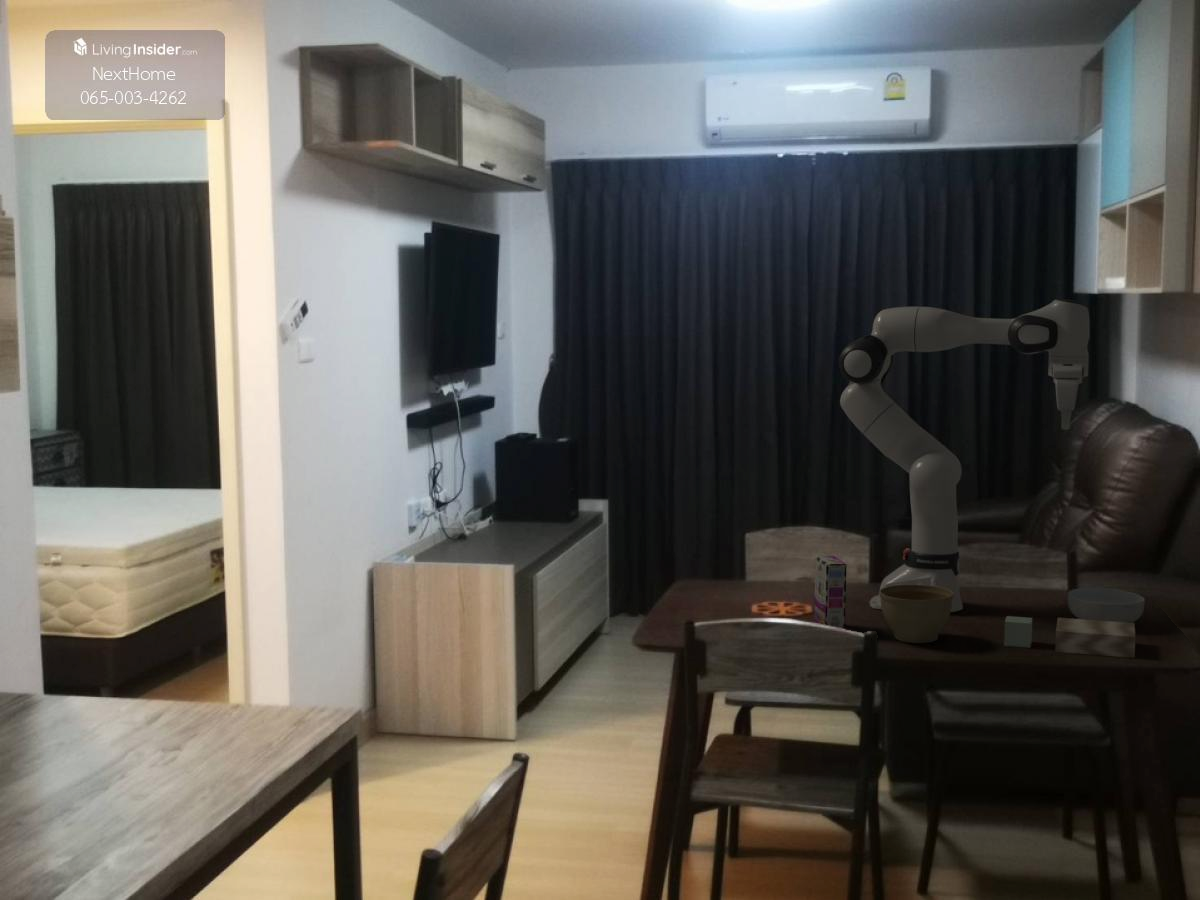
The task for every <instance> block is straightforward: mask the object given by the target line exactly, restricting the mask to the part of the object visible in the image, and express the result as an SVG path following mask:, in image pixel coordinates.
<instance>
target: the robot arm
mask: <svg viewBox="0 0 1200 900" xmlns="http://www.w3.org/2000/svg"><path fill="white" fill-rule="evenodd" d="M1090 326H1091V325H1090V313H1089V309H1088V306H1086V305H1085V304H1084V303H1082V302H1081V301H1077V300H1072V299H1064V298H1056V299H1054V300H1052V302H1051V303H1049V304H1047V305H1045V306H1043V307H1041V308H1039V309H1036V310H1033V311H1031V312H1027V313H1024V314H1020V315H1019V316H1017V317H1014V318H1013V317H1011V318H991V317H990V318H989V317H986V318H985V317H975V316H968V315H964V314H961V313H957V312H954V311H951V310H946V309H944V308H938V307H932V306H916V305H915V306H898V307H897V306H896V307H891V308H890V307H889V308H885V309H882V310H881V311H879V312H878V313H877V314H876V316H875V317H874V320H873V324H872V330H871V334H865V335H863V336H862V337H860V338H857V339H856V340H853V341H852V342H850V343H849V344H848V345H846V346H845V347H844V348H843V350H842V351H841V353H840V355H839V359H838V366H839V370H840V373H841V375H842V376H843V377H844V378H845V379H846V380H848V381H849V383H848V385H847V386H846V387H845V388H844V390H843V391H842V393H841V395H840V400H839V405H840V407H841V409H842V411H843V412H844V414H845V415H846V416H847V417H848V419H849V420H850V421H851V422H852V423H853V425H854V426H855V428H857V429H858V431H860V433H861V434H862V435H864V437H865V438H866V439H868V440H869V442H870V443H872V445H874V446H875V447H876V448H877V450H879V451H880V452H881V453H882V454H883V455H884V456H885V457H886V458H887V459H889V460H891V461H892V462H894V463H895V464H897V465H898V466H900V468H902V470H904V471H905V472H906V473H908V474H909V479H908V480H909V496H910V497H909V498H910V499H909V500H910V510H911V548H909V547H908V548H907V547H906V548H905V549H904V550H903V552H902V553H903V554H902V563H903V564H902V565H900V566H899V567H897V568H896V569H895V570H894V571H892V572H891V573H889V574H888V575H886V576H885V577H884V578H883V579H882V581H881V584H880V588H879V593H878V594H877V595H874V596H873V597H871V599H870V600H869V601H870V602H869V606H870V607H871V608H872V609H877V610H882V607H881V597H880V590H881V589H882V588H884V587H888V586H894V585H930V586H937V587H942V588H946V589H948V590H951V591H952V592H953V599H952V607H951V612H950V613H954V612H959V611H962V610H963V608H964V605H963V602H962V598H961V593H960V586H959V572H960V561H961V560H960V559H961V558H960V552H959V550H958V540H959V539H958V538H959V537H958V535H959V534H958V533H959V532H958V531H959V530H958V529H959V528H958V527H959V517H958V508H957V507H958V506H957V485H958V483H959V482H960V480H961V477H962V471H963V470H962V464H961V462H960V460H959V459H958V457H957V456H956V455H955V454H954V453H953V452H952V451H950V449H948V448H947V447H946V446H945V445H944V444H942V442H940V441H939V440H938V439H937V438H935V437H934V436H933V435H932V434H930V433H929V432H928V431H926V430H925V429H924V428H922V427H921V426H920V425H919V424H918V423H917V422H916V421H914V420H913V418H912V417H910V415H909V414H908V413H906V412H905V410H903V409H902V408H901V407H900V406H899V405H898V404H897V403H896V402H895V401H894V400H893V399H892V398H891V396H889V395H888V394H887V393H886V392H885V391H884V389H883V387H882V384H883V383H884V381H885V380H886V377H887V375H888V373H889V371H890V370H891V367H892V364H893V362H894V361H893V358H894V356H893V355H894V354H895V353H899V352H913V353H931V352H932V353H934V352H941V351H947V350H951V349H955V348H958V347H961V346H966V345H972V344H973V345H974V344H975V345H976V344H980V345H981V344H983V345H985V344H987V345H989V344H990V345H1007V346H1008V345H1009V346H1011V347H1012V348H1013V349H1014V350H1016V352H1019V353H1021V354H1024V355H1033V354H1042V353H1044V352H1048V369H1047V370H1048V371H1047V375H1048V376H1049V377H1052V379H1053V383H1054V385H1055V396H1056V399H1055V400H1056V406H1057V410H1058V411H1059V412H1060V413H1061V415H1060V418H1061V426H1060V427H1061V429H1062V430H1063V431H1064V430H1067V431H1068V430H1070V428H1071V424H1072V423H1071V421H1072V414H1073V413H1072V412H1073V411H1074V410H1075V409H1076V403H1077V396H1078V390H1079V385H1080V384H1082V383H1083V378H1085V377H1088V376H1089V360H1090V359H1089V357H1090V355H1089V351H1088V345H1089V343H1088V342H1089V340H1090V335H1091V333H1090V332H1091V331H1090V329H1091V327H1090Z"/></svg>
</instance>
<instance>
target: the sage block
mask: <svg viewBox="0 0 1200 900" xmlns="http://www.w3.org/2000/svg"><path fill="white" fill-rule="evenodd" d="M1003 634H1004V638H1003V639H1004V642H1003V644H1004V645H1003V646H1005V647H1018V648H1026V649H1027V648H1028V649H1030V648H1031V647H1032V643H1033V642H1032V641H1033V640H1032V639H1033V617H1023V616H1013V615H1012V616H1011V615H1007V616H1006V617H1005V620H1004V633H1003Z"/></svg>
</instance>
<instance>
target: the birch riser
mask: <svg viewBox="0 0 1200 900" xmlns="http://www.w3.org/2000/svg"><path fill="white" fill-rule="evenodd" d="M1135 627H1136V626H1135V622H1132V623H1128V622H1113V621H1099V620H1085V619H1079V618H1069V617H1068V618H1067V617H1057V622H1056V629H1055V642H1054V643H1055V644H1054V645H1055V648H1054V650H1055V651H1054V652H1055V653H1066V654H1067V653H1068V654H1077V653H1079V655H1080V654H1081V655H1091V656H1105V657H1117V658H1130V659H1135V657H1136V655H1135V654H1136V629H1135Z"/></svg>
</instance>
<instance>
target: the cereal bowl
mask: <svg viewBox="0 0 1200 900" xmlns="http://www.w3.org/2000/svg"><path fill="white" fill-rule="evenodd" d="M1145 603H1146V600H1145V597H1144V596H1142V595H1141V594H1138V593H1134V592H1132V591H1127V590H1122V589H1115V588H1109V587H1108V588H1107V587H1106V588H1105V587H1081V588H1074V589H1071V590H1070V591H1068V593H1067V605H1068V606H1067V607H1068V608H1069V610H1070V612H1071V613H1072V615H1074V616H1075V617H1076V619H1085V620H1099V621H1113V622H1128V623H1135V622H1136V621H1137V620H1139V619H1140V617H1141V616H1142V614H1143V613H1144V609H1145V606H1146V605H1145Z"/></svg>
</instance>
